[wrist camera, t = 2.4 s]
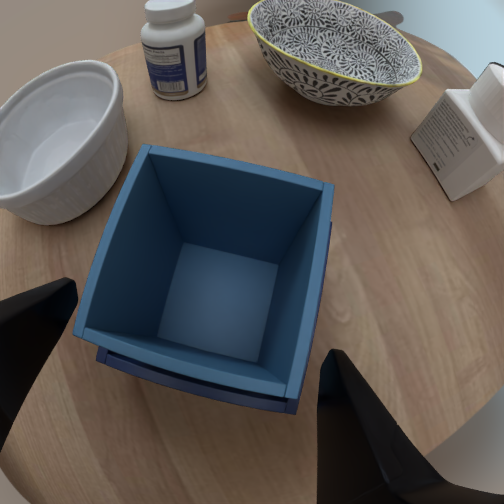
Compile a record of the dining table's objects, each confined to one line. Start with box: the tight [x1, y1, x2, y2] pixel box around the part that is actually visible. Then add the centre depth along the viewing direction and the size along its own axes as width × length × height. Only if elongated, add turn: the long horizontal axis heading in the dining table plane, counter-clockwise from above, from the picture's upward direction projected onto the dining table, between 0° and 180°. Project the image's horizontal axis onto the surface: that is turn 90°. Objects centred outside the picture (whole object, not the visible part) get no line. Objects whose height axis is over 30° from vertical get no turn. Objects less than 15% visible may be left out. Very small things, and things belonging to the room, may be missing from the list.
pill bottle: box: [141, 0, 207, 100], centre depth 20 cm, size 5×5×10 cm
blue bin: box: [73, 144, 334, 399], centre depth 13 cm, size 7×7×10 cm
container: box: [411, 62, 504, 201], centre depth 18 cm, size 8×8×13 cm
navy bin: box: [96, 221, 332, 415], centre depth 16 cm, size 10×10×4 cm
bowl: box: [248, 0, 422, 106], centre depth 22 cm, size 16×16×8 cm
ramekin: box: [0, 60, 128, 225], centre depth 18 cm, size 13×13×7 cm
